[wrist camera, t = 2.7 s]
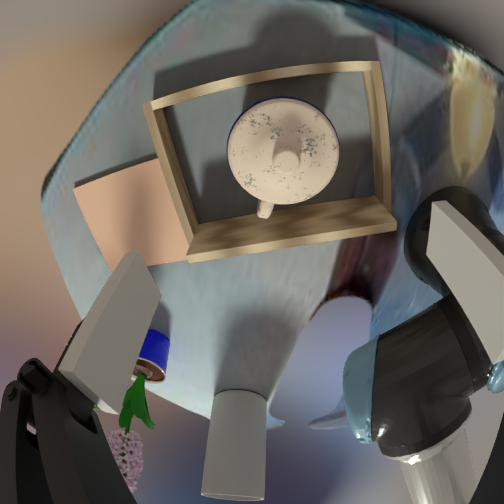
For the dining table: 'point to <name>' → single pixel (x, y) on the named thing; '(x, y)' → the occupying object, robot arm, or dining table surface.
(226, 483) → the cylinder vase
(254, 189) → the teacup with lid
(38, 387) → the robot arm
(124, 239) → the terracotta tile
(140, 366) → the hyacinth
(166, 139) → the frame
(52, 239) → the dining table surface
